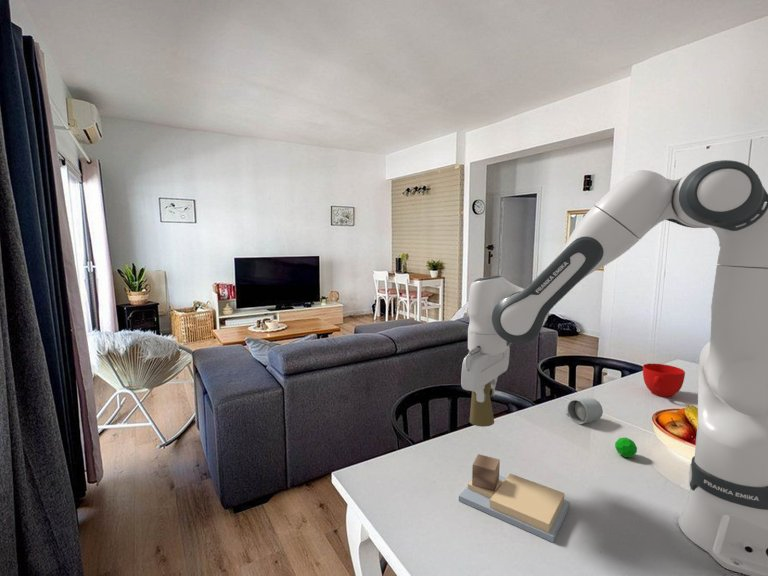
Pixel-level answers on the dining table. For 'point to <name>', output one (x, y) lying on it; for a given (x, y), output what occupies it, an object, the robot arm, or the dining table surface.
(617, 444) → the polyhedron
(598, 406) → the ceramic mug
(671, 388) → the red bowl
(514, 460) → the dining table surface
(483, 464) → the walnut cube
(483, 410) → the olive pawn
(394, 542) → the dining table surface
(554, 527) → the base board
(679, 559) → the dining table surface
